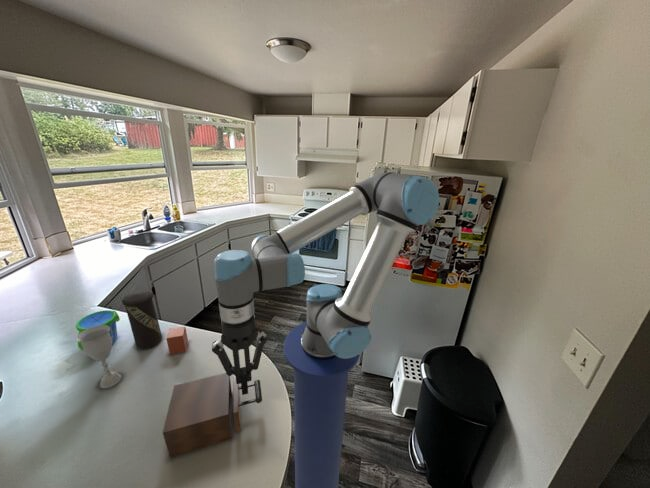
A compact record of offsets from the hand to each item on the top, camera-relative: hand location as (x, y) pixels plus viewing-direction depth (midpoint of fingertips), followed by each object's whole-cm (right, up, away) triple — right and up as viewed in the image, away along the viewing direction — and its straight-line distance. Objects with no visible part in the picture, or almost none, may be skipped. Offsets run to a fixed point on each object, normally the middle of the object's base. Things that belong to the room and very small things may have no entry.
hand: (244, 389), depth 66 cm
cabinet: (-10, -8, -1) cm, 13 cm away
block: (-31, +1, +23) cm, 39 cm away
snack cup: (-59, +3, +24) cm, 64 cm away
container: (-44, +3, +26) cm, 51 cm away
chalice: (-44, -3, +10) cm, 45 cm away
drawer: (-5, -7, +1) cm, 9 cm away
